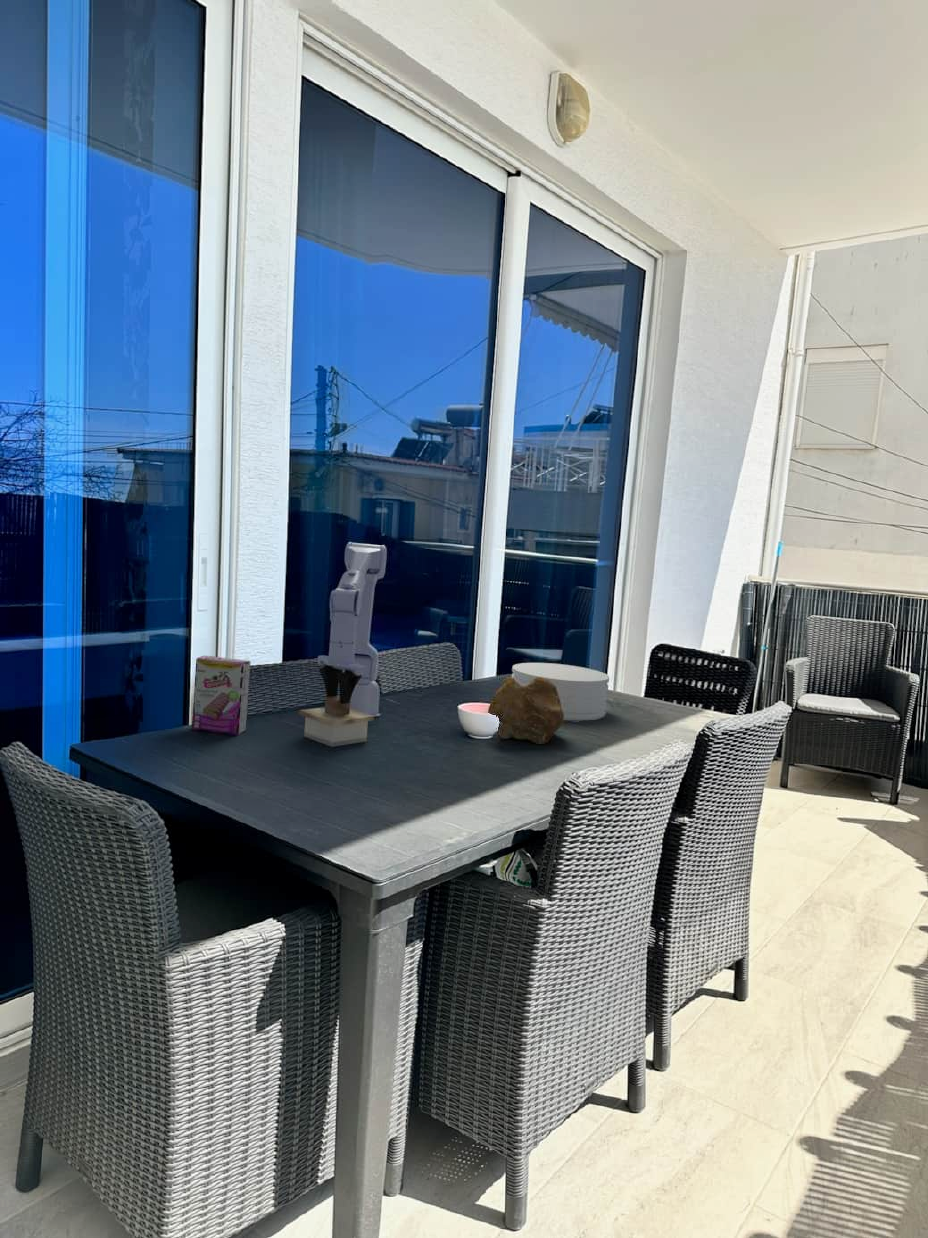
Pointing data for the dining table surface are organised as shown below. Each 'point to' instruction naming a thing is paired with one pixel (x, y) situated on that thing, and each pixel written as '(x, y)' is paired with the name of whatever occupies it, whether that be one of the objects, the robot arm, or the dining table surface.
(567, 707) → the grey short cylinder
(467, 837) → the dining table surface
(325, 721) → the lid
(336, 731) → the dish
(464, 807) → the dining table surface
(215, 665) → the candy bar box
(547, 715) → the rough brown rock
